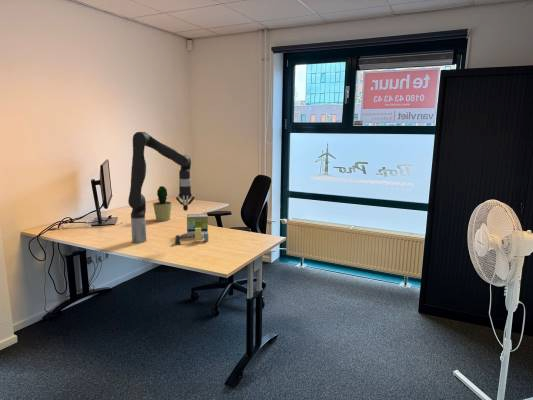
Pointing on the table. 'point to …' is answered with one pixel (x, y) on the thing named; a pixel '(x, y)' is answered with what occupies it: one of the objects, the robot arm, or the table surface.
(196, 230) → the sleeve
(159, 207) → the potted cactus
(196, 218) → the tea box
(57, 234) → the table surface
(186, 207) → the robot arm
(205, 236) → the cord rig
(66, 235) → the table surface
